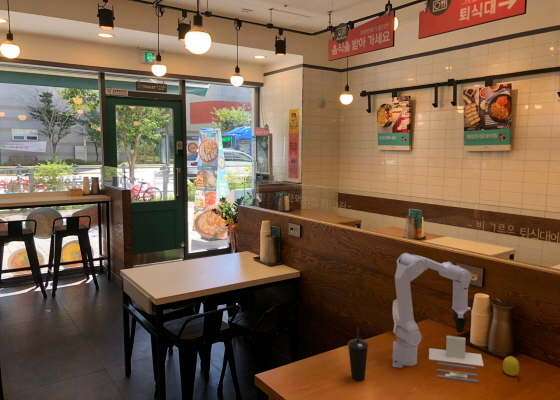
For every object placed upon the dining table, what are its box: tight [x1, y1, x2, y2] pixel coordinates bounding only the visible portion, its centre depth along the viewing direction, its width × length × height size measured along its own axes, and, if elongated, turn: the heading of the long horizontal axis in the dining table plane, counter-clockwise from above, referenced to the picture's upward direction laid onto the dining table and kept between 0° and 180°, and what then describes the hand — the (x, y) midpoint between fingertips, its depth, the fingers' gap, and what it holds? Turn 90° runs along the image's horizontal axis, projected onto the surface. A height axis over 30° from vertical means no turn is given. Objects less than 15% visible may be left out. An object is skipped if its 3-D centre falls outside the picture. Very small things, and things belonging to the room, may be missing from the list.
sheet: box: [445, 335, 466, 359], centre depth 182 cm, size 7×2×8 cm, turn 71°
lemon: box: [502, 355, 520, 377], centre depth 169 cm, size 6×6×8 cm
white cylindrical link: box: [392, 298, 399, 335], centre depth 209 cm, size 7×7×15 cm
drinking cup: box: [347, 326, 369, 382], centre depth 169 cm, size 8×8×20 cm
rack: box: [436, 361, 479, 384], centre depth 170 cm, size 14×12×2 cm
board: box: [428, 348, 484, 367], centre depth 183 cm, size 20×10×2 cm, turn 71°
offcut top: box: [450, 372, 469, 379], centre depth 167 cm, size 6×2×1 cm, turn 71°
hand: (459, 328), depth 188 cm, fingers open, 7 cm apart
